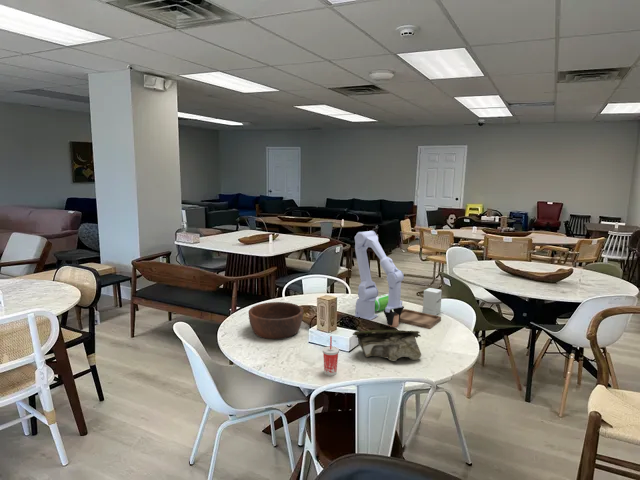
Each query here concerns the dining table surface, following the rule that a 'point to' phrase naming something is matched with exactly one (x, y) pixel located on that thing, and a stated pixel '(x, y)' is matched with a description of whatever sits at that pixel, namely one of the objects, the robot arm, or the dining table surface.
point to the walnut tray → (419, 319)
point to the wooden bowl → (275, 319)
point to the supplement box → (432, 301)
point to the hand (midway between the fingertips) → (393, 322)
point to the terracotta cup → (395, 321)
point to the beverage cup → (330, 359)
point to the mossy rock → (389, 343)
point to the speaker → (381, 302)
